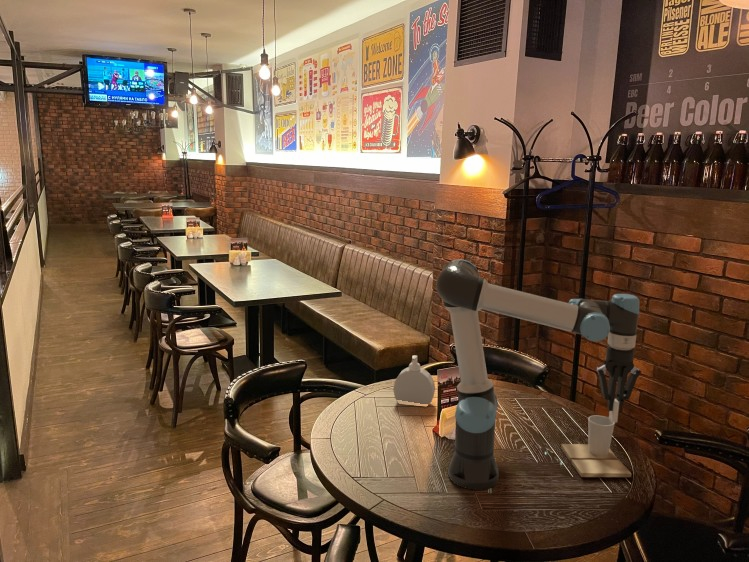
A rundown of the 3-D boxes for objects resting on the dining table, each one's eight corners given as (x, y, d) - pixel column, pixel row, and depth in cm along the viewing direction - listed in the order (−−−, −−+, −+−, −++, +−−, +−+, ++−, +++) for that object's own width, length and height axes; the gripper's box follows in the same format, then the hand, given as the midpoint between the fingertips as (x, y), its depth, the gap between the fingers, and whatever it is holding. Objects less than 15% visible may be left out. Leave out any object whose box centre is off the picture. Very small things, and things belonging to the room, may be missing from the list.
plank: (581, 476, 169) (581, 473, 169) (571, 463, 178) (571, 459, 178) (631, 477, 169) (631, 473, 169) (618, 463, 178) (618, 459, 178)
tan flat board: (570, 461, 179) (570, 458, 178) (561, 447, 188) (561, 444, 188) (617, 462, 178) (617, 458, 178) (606, 447, 188) (606, 444, 187)
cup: (614, 461, 178) (617, 426, 176) (587, 459, 180) (591, 424, 177) (607, 450, 186) (611, 416, 184) (582, 447, 187) (586, 414, 185)
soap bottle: (392, 404, 222) (393, 356, 218) (395, 399, 227) (396, 352, 223) (432, 409, 218) (433, 360, 214) (435, 403, 223) (436, 355, 219)
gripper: (603, 350, 161) (595, 425, 166) (649, 351, 161) (639, 426, 166) (594, 341, 169) (587, 414, 174) (637, 342, 169) (629, 415, 173)
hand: (612, 420), depth 170 cm, fingers closed
